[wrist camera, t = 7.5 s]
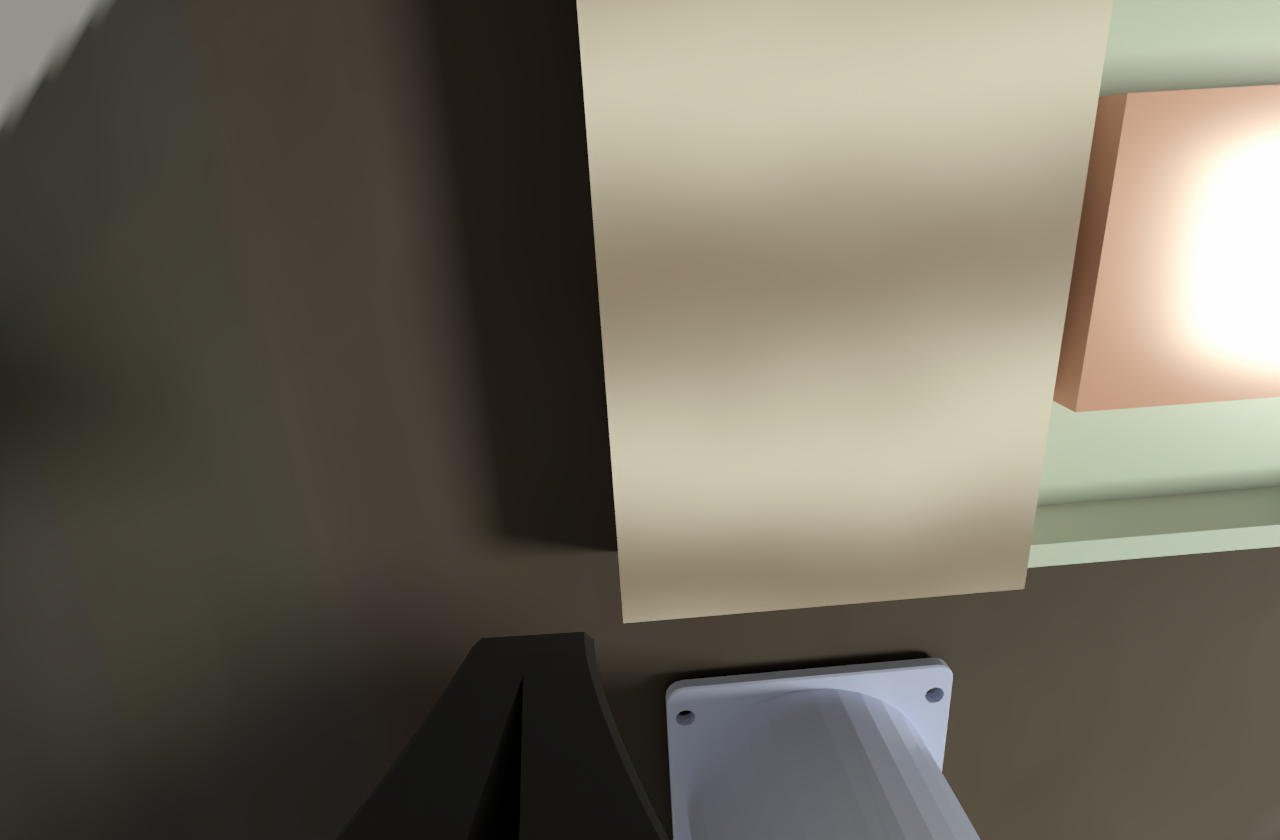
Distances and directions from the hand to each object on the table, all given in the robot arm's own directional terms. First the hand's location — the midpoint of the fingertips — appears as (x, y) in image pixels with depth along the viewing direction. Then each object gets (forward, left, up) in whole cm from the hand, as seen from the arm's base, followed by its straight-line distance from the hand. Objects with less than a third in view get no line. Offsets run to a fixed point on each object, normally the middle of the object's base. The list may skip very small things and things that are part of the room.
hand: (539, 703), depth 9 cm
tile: (+4, -15, -9) cm, 17 cm away
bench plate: (+4, -6, -9) cm, 11 cm away
